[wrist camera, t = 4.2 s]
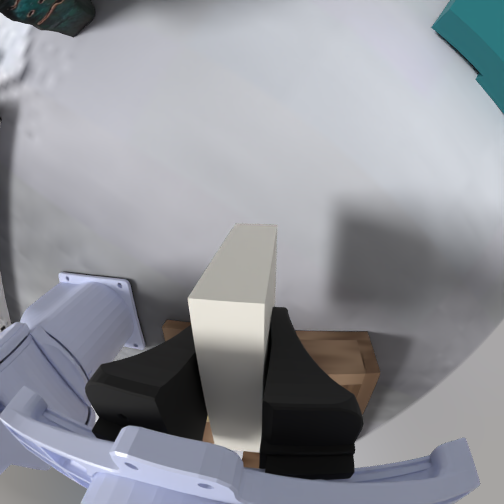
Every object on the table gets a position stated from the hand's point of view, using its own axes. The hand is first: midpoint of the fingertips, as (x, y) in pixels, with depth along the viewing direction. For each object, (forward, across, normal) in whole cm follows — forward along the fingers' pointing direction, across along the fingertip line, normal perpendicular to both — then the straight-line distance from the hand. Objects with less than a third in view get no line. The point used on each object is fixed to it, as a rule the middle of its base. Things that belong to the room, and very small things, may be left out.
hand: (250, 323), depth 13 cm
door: (+2, 0, 0) cm, 2 cm away
